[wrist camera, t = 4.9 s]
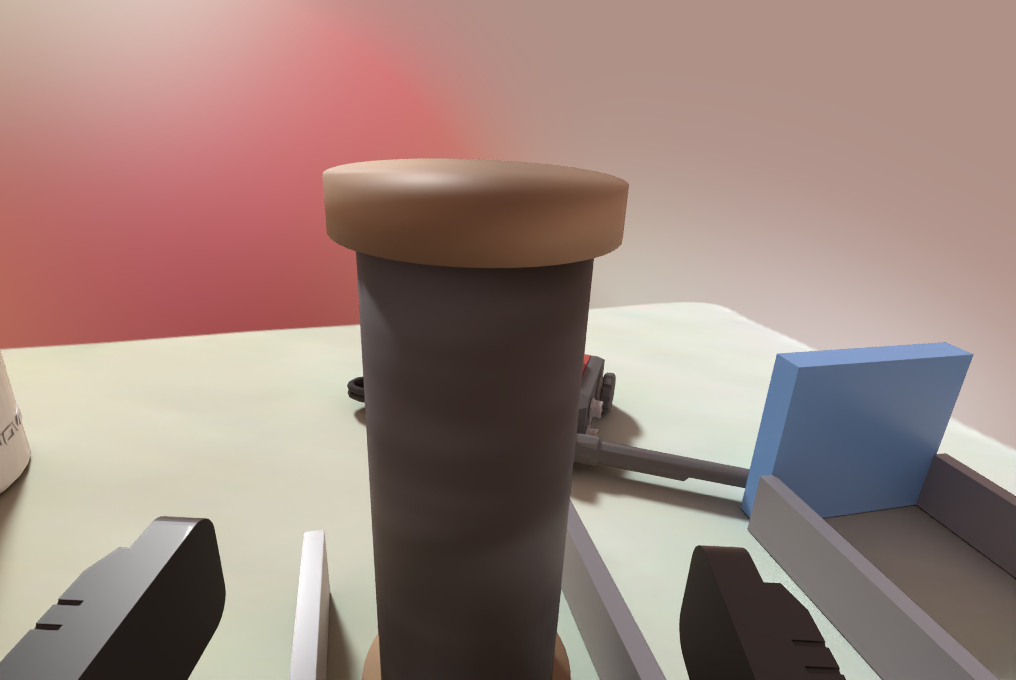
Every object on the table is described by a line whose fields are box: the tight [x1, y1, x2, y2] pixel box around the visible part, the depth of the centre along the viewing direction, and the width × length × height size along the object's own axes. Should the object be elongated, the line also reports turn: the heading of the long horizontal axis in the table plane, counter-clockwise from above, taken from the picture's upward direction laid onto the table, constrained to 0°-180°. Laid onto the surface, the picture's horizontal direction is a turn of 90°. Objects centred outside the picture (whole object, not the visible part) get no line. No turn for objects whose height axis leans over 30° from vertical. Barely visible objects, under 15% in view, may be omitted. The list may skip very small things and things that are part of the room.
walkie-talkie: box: [347, 354, 750, 488], centre depth 30 cm, size 9×4×20 cm
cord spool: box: [322, 159, 629, 680], centre depth 14 cm, size 6×6×14 cm
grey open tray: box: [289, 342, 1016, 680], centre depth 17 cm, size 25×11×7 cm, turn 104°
